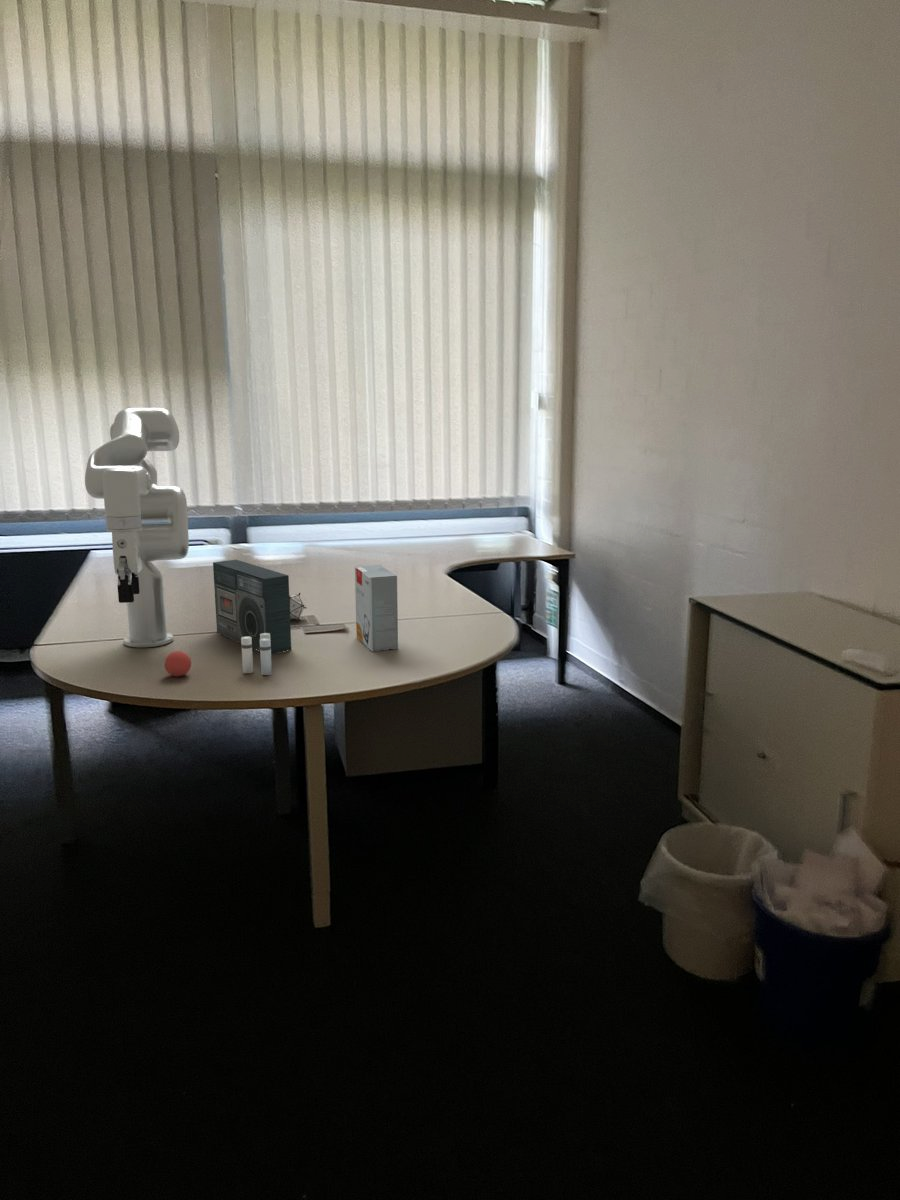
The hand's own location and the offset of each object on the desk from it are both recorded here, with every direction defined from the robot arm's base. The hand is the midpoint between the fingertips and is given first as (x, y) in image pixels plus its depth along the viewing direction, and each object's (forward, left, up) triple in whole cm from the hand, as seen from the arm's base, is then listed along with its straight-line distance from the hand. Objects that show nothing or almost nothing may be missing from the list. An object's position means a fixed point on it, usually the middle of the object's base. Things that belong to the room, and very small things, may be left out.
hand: (129, 598), depth 204 cm
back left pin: (+9, +29, -19) cm, 36 cm away
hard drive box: (+3, +62, -20) cm, 65 cm away
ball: (+3, +9, -16) cm, 19 cm away
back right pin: (+13, +27, -19) cm, 36 cm away
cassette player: (-17, +35, -20) cm, 43 cm away
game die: (-33, +53, -20) cm, 65 cm away
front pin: (+9, +24, -19) cm, 32 cm away
